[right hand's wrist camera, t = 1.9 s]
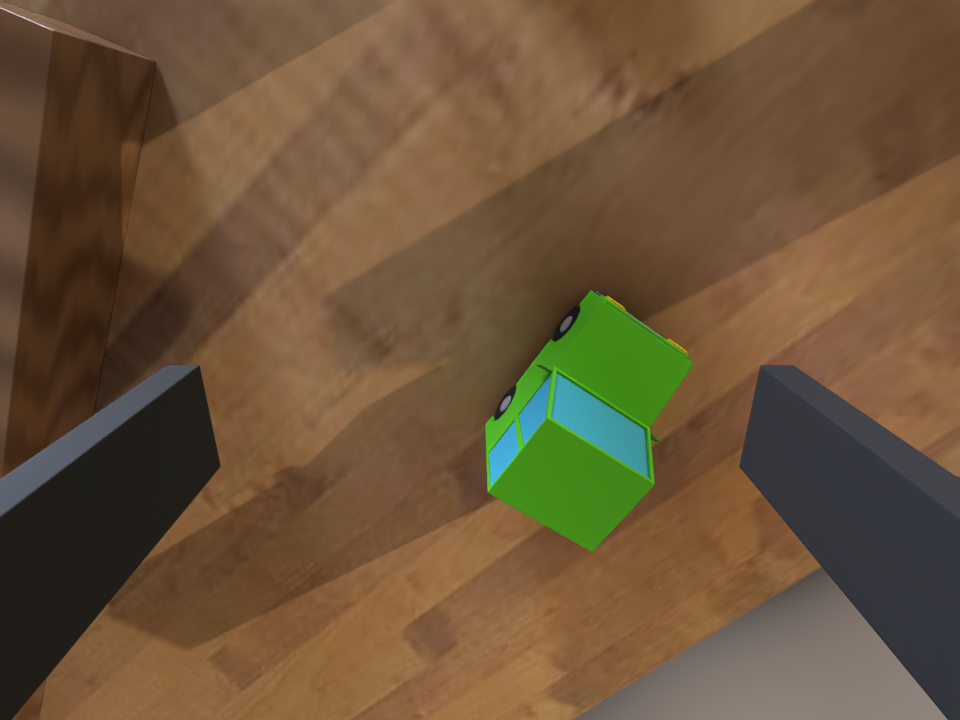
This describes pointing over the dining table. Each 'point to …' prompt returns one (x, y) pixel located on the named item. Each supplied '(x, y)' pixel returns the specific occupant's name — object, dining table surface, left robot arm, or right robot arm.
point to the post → (60, 223)
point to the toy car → (584, 422)
